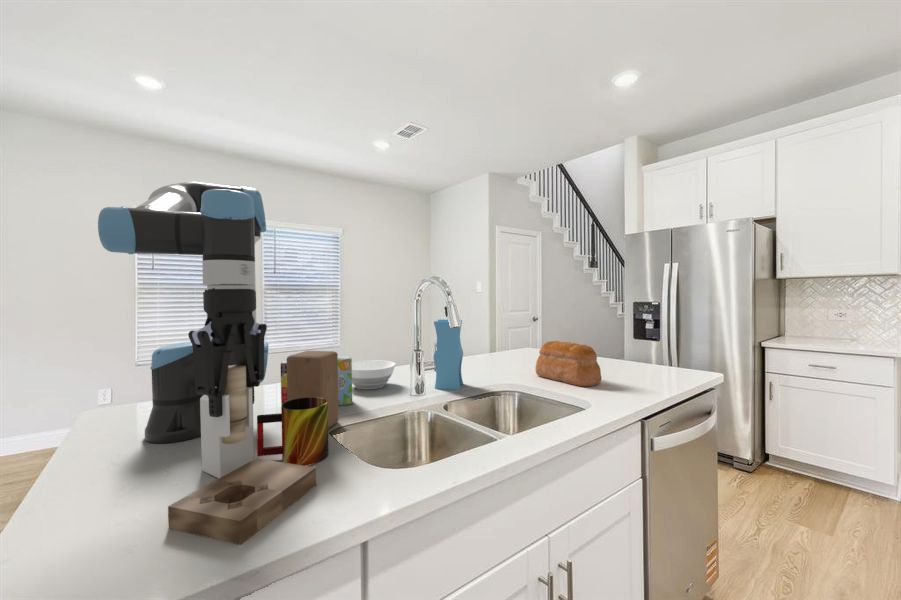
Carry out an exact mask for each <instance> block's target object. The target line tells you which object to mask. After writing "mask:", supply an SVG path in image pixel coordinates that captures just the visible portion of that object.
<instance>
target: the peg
mask: <svg viewBox="0 0 901 600" xmlns="http://www.w3.org/2000/svg"><path fill="white" fill-rule="evenodd" d="M224 394H227V395H229V407H230V436H228V437H222V443H224V444H234V443H238V442H241V441H243V440H245V422H246V421H247V393H246V366H245V365H231V366H228V372H227V379H226V386H225V393H224Z"/></svg>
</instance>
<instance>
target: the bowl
mask: <svg viewBox="0 0 901 600" xmlns="http://www.w3.org/2000/svg"><path fill="white" fill-rule="evenodd" d="M395 367H396V362H393V361H390V360H384V359H383V360H381V359H378V360H377V359H371V360H370V359H368V360H367V359H366V360H358V361H352V386H354V388H356V389H358V390H364V391H365V390H366V391H367V390H369V391H370V390H376V389H382V388H384V387H385V385H386V384H387V383H388V382H389V379H390V378H391V377H392V375H393V374H394V371H395Z"/></svg>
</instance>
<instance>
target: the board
mask: <svg viewBox="0 0 901 600" xmlns="http://www.w3.org/2000/svg"><path fill="white" fill-rule="evenodd" d="M316 486H317V467H316V466H311V465H307V466H304V465H297V464H290V463H283V461H275V460H270V459H261V458H254V460H252V461H250V462H248V463H247V464H245V465H243V466H241V467H239V468H237V469H236V470H234V471H232V472H230V473H228V474H226V475H225V476H223V477H221V478H218V479H215V480H213V481H212V482H210V483H209V484H207V485H205V486H203V487H201V488H199V489H197V490H196V491H193V492H192V493H189V494H188V495H186V496H185V497H183V498H180V499H178V500H177V501H175V502H173V503H171V504H170V505H168V506H167V512H168V513H167V517H168V520H167V521H168V522H167V523H168V529H171V530H175V531H179V532H184V533H188V534H192V535H196V536H201V537H205V538H210V539H214V540H218V541H223V542H227V543H230V544H231V543H232V544H235V545H242V544H243V543H245V542H246V541H248V540H249V538H251V537H252V536H254V535H256V533H257V532H259V531H260V530H261V529H263V528H264V527H265V526H266V525H268V524H270V522H272V521H273V520H274V519H276V518H277V517H278V516H279V515H281V514H282V513H283V512H284V511H286V510H287V509H288V508H289V507H291V506H292V505H293V504H295V503H296V502H297V501H298V500H300V499H301V498H302V497H303V496H305V495H306V494H308V493H309V492H310V491H311V490H312V489H314V488H315V487H316Z"/></svg>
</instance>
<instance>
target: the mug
mask: <svg viewBox="0 0 901 600" xmlns="http://www.w3.org/2000/svg"><path fill="white" fill-rule="evenodd" d="M280 406H281V407H280V408H281V409H280V411H281V412H280V413H270V414H269V413H268V414H258V415H257V416H256V430H257V431H256V432H257V433H256V434H257V436H256V437H257V438H256V450H257V451H256V452H257V453H256V455H257V457H265V456H275V455H281V456H282V457H281V459H282V461H281V462H283V463H290V464H297V465H304V466H312V465H314V464H317V463H320V462H322V461H324V460H325V459H327V458H328V456H329V428H328V401H327V400H326V399H324V398H319V397H306V398H298V399H293V400H290V401H287V402H285V403H283V404H282V405H281V404H280ZM270 423H281V445H278V446H276V445H275V446H266V447H265V445H264V424H270Z"/></svg>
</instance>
